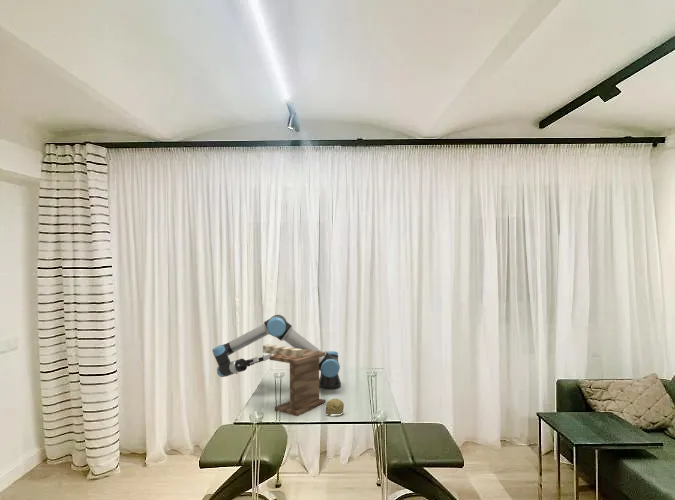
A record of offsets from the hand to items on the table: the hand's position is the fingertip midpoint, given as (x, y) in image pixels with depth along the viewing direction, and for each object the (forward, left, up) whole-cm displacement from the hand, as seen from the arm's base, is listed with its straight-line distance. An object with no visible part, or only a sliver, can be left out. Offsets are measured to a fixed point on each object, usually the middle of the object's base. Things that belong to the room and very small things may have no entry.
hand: (265, 357), depth 284 cm
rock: (-41, +24, -26) cm, 54 cm away
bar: (-12, +13, +4) cm, 18 cm away
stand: (-20, +11, -26) cm, 35 cm away
